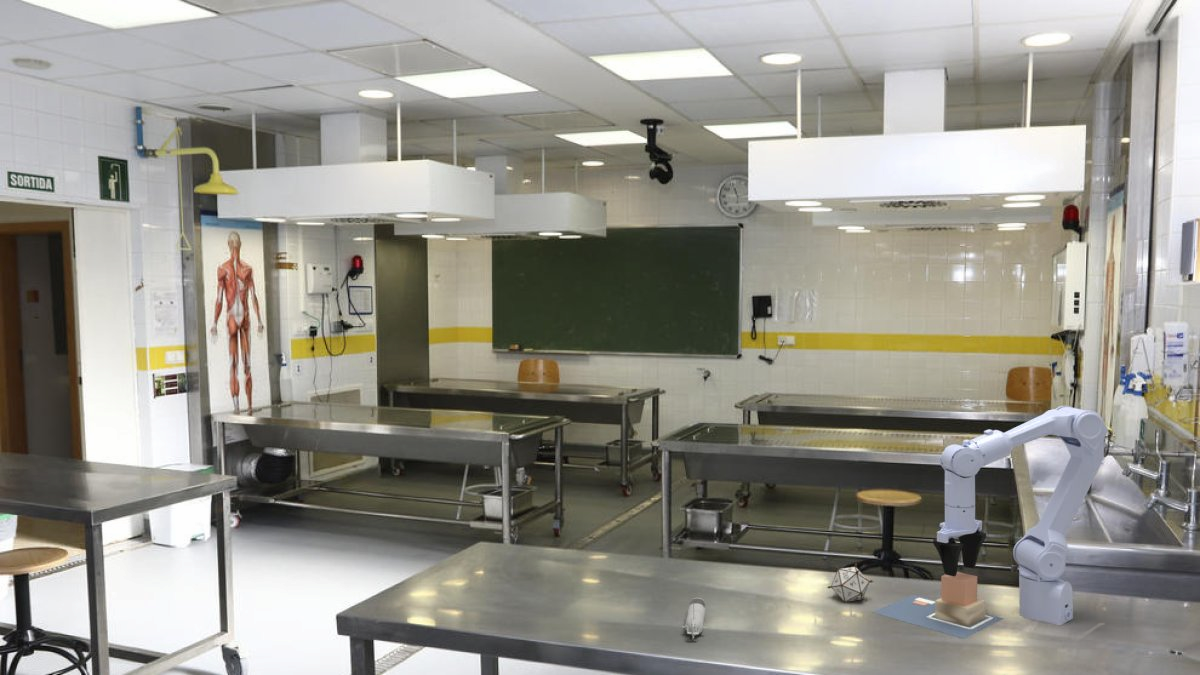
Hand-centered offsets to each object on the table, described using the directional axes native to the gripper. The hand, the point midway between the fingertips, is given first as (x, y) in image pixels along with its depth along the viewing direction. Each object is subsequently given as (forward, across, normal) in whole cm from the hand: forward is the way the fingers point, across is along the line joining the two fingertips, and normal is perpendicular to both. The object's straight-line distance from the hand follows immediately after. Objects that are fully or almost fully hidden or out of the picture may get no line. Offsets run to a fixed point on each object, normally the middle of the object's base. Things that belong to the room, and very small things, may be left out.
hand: (960, 571), depth 184 cm
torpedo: (+11, +41, -35) cm, 55 cm away
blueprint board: (+10, +2, -4) cm, 11 cm away
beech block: (+10, 0, 0) cm, 10 cm away
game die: (+11, +6, -22) cm, 25 cm away
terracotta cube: (+6, 0, 0) cm, 6 cm away
